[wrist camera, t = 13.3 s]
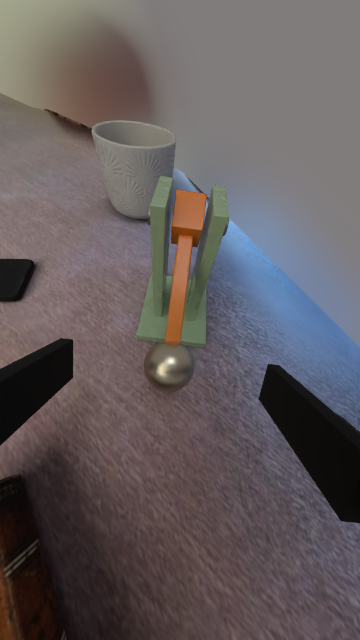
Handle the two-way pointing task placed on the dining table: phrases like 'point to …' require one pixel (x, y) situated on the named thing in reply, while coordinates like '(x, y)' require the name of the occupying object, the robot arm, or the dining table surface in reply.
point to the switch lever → (177, 298)
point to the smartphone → (14, 277)
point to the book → (24, 572)
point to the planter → (133, 162)
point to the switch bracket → (161, 283)
